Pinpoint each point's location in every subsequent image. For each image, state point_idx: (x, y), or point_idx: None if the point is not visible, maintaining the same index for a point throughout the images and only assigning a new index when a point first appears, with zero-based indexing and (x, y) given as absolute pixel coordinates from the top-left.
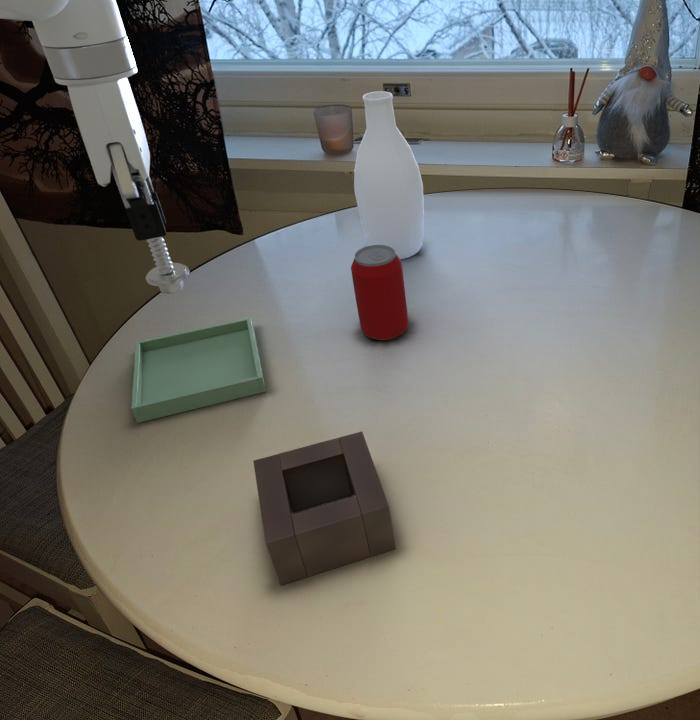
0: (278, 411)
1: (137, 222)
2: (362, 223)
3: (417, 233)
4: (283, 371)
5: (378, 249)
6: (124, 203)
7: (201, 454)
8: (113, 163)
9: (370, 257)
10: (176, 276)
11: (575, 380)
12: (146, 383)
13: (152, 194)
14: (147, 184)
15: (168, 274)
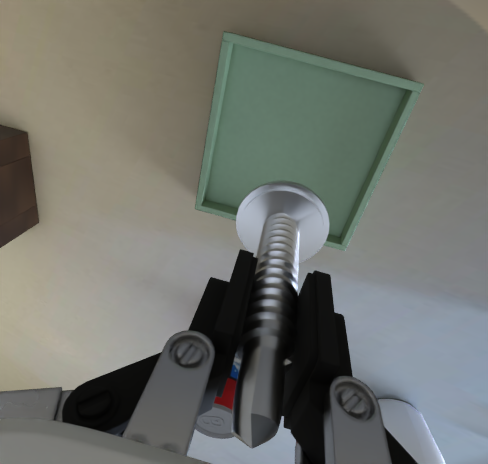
0: (159, 196)
1: (200, 301)
2: (412, 441)
3: None
4: (229, 229)
5: (227, 429)
6: (162, 351)
7: (124, 95)
8: None
9: (212, 416)
10: (243, 236)
11: (90, 374)
12: (307, 70)
13: (288, 419)
14: (298, 460)
15: (263, 227)
